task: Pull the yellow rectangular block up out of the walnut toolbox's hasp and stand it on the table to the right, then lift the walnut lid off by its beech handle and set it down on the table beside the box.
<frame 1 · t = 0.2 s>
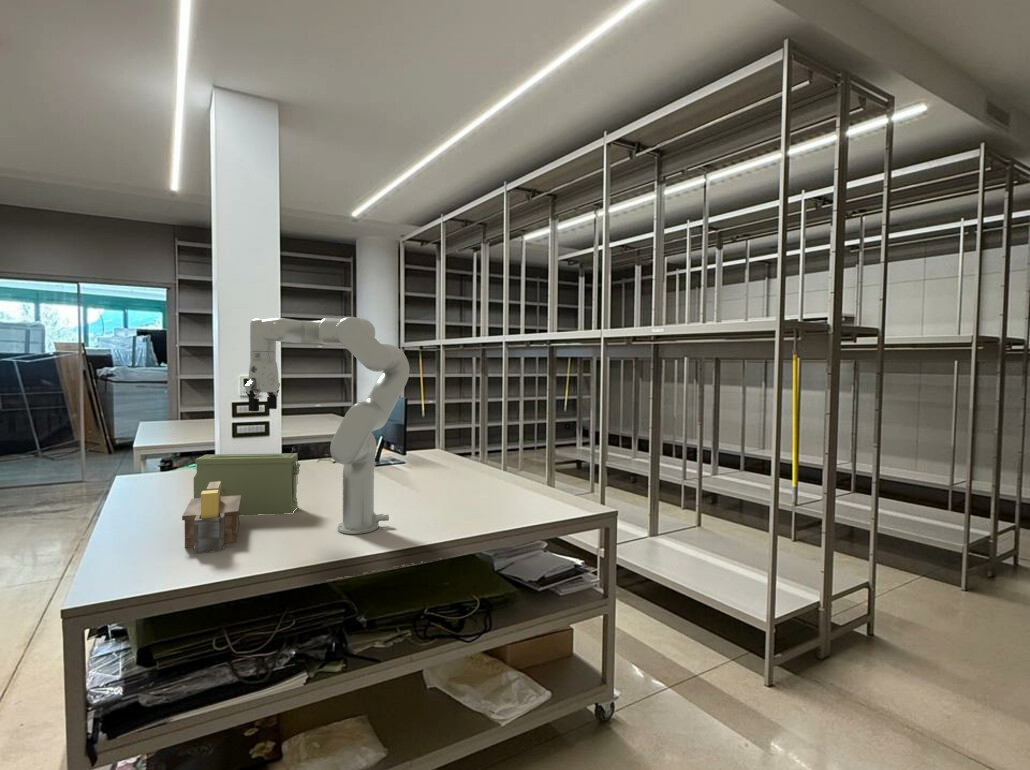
hand: (263, 410, 175), 37 cm above the table, tool pointing down, fingers open, 9 cm apart
yellow rectangular block: (210, 548, 152), resting in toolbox
ammunition box: (249, 512, 190), on the table
lid: (214, 511, 164), point 7 cm above the table, touching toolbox
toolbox: (214, 534, 164), on the table
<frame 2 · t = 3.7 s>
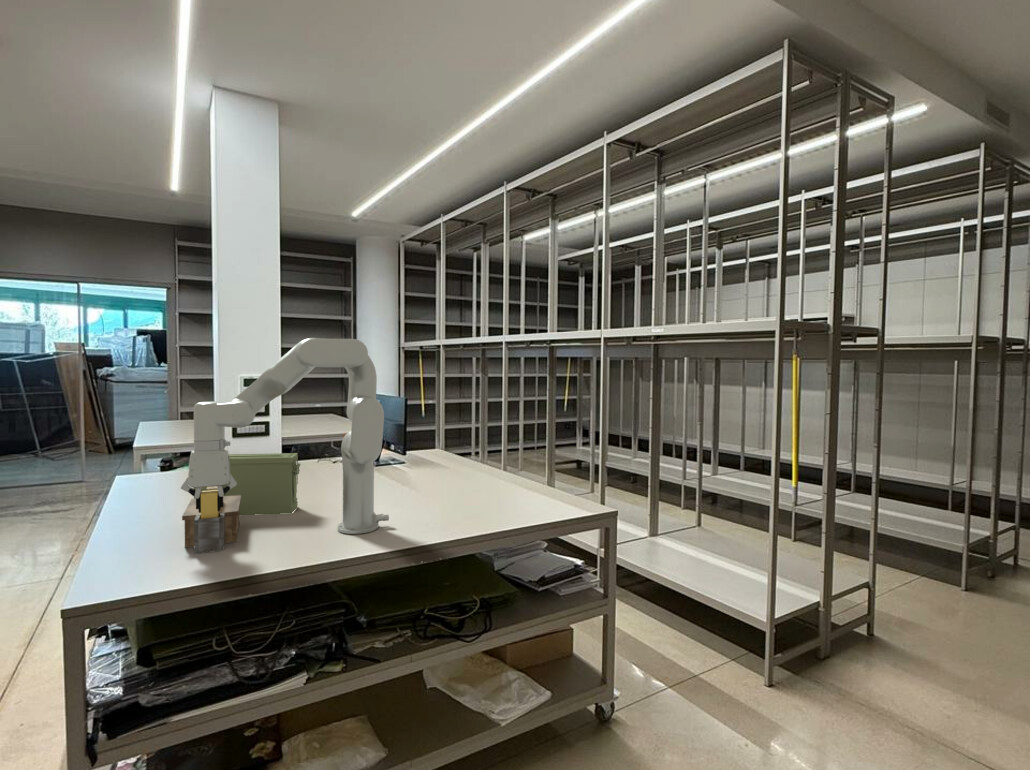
hand: (209, 510, 152), 11 cm above the table, tool pointing down, fingers closed on yellow rectangular block, 3 cm apart
yellow rectangular block: (210, 548, 152), resting in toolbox, touching gripper
everything else where it was.
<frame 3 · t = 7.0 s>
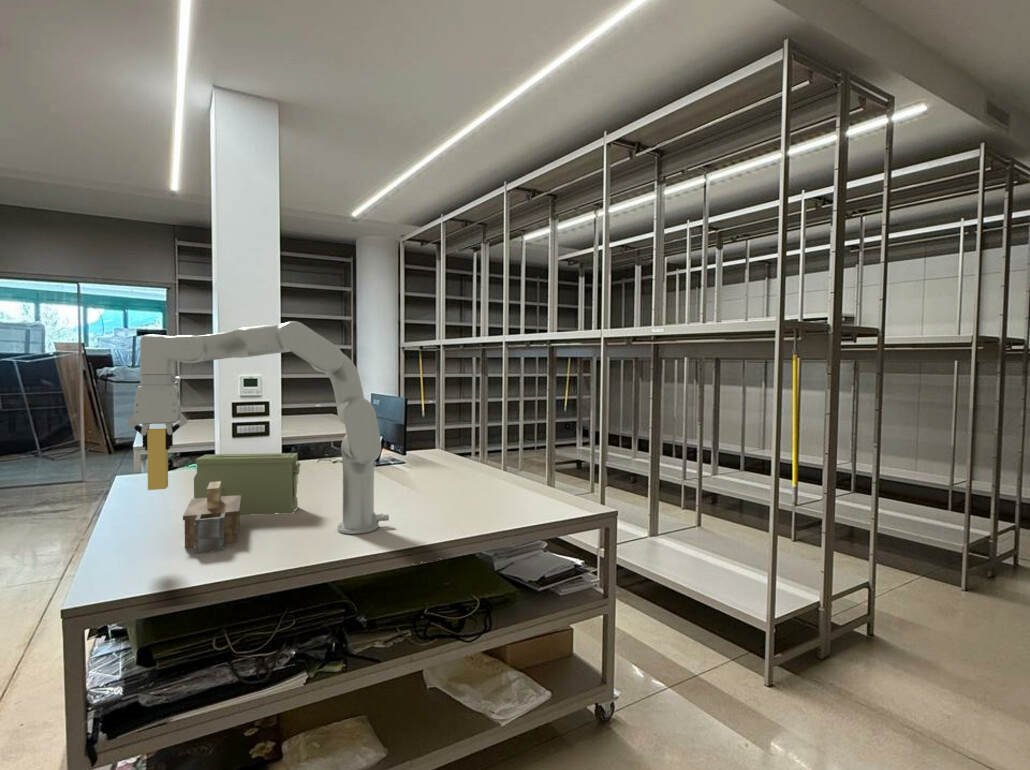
hand: (157, 448, 145), 29 cm above the table, tool pointing down, fingers closed on yellow rectangular block, 3 cm apart
yellow rectangular block: (158, 488, 145), point 18 cm above the table, touching gripper
everything else where it was.
when the fingers open (12 cm above the table, at t = 10.3 s): yellow rectangular block drops 2 cm, on the table.
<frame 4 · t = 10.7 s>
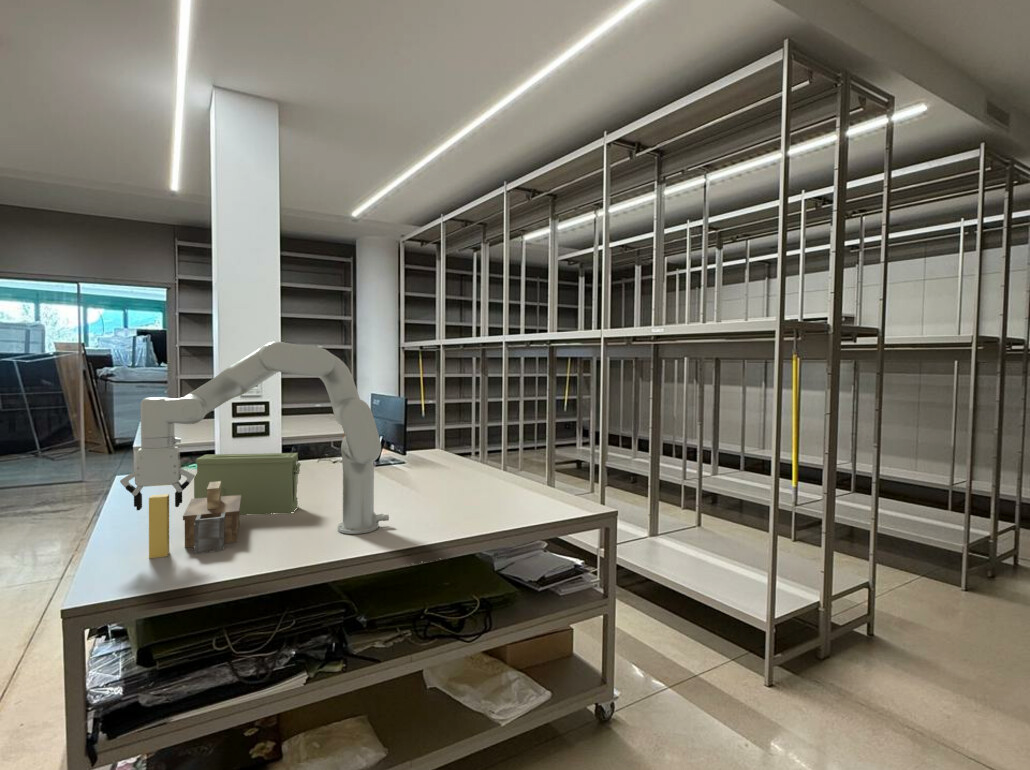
hand: (158, 507, 146), 13 cm above the table, tool pointing down, fingers open, 8 cm apart
yellow rectangular block: (159, 555, 146), on the table
everything else where it was.
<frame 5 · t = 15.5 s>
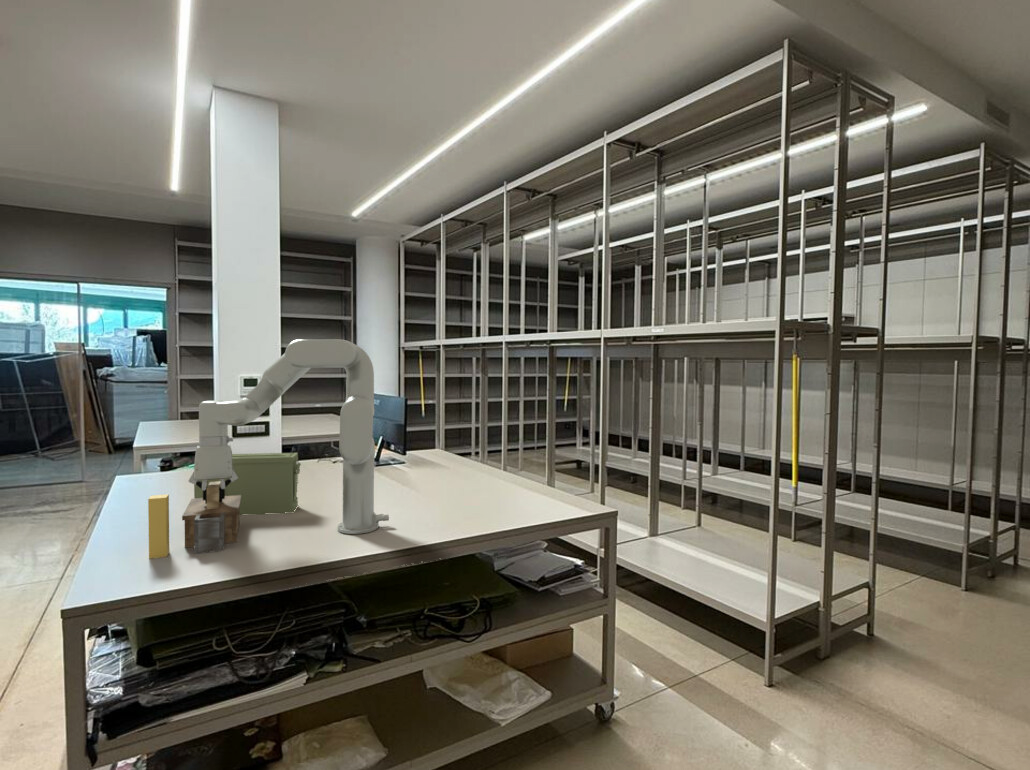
hand: (214, 501, 164), 10 cm above the table, tool pointing down, fingers closed on lid, 3 cm apart
lid: (214, 511, 164), point 7 cm above the table, touching gripper, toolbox
everything else where it was.
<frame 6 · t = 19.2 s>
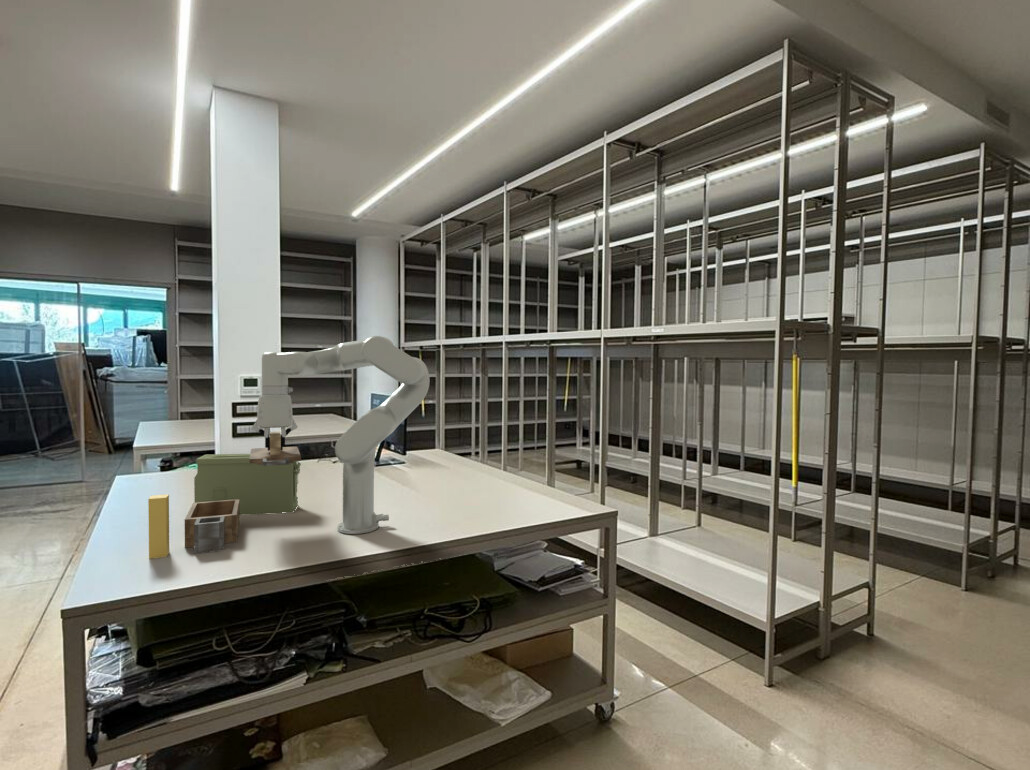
hand: (275, 449, 170), 25 cm above the table, tool pointing down, fingers closed on lid, 3 cm apart
lid: (275, 459, 170), point 22 cm above the table, touching gripper
everything else where it was.
when the fingers open (5 cm above the table, at t = 23.1 s): lid drops 2 cm, on the table.
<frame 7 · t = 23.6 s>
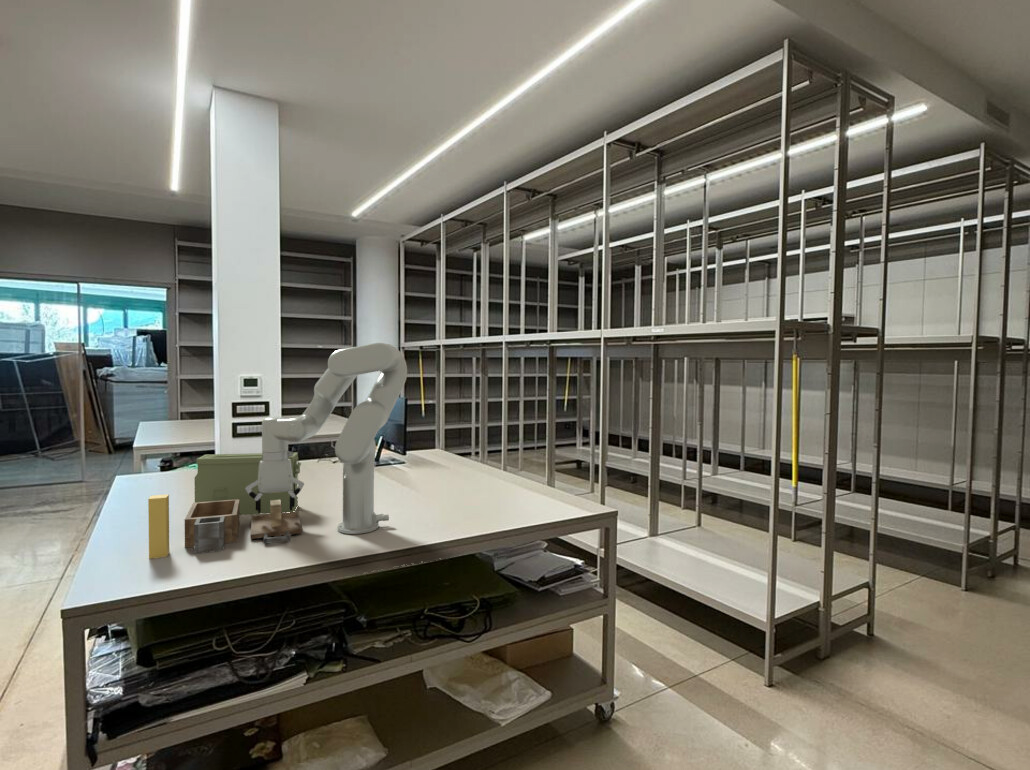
hand: (275, 510, 171), 6 cm above the table, tool pointing down, fingers open, 8 cm apart
lid: (275, 529, 171), on the table
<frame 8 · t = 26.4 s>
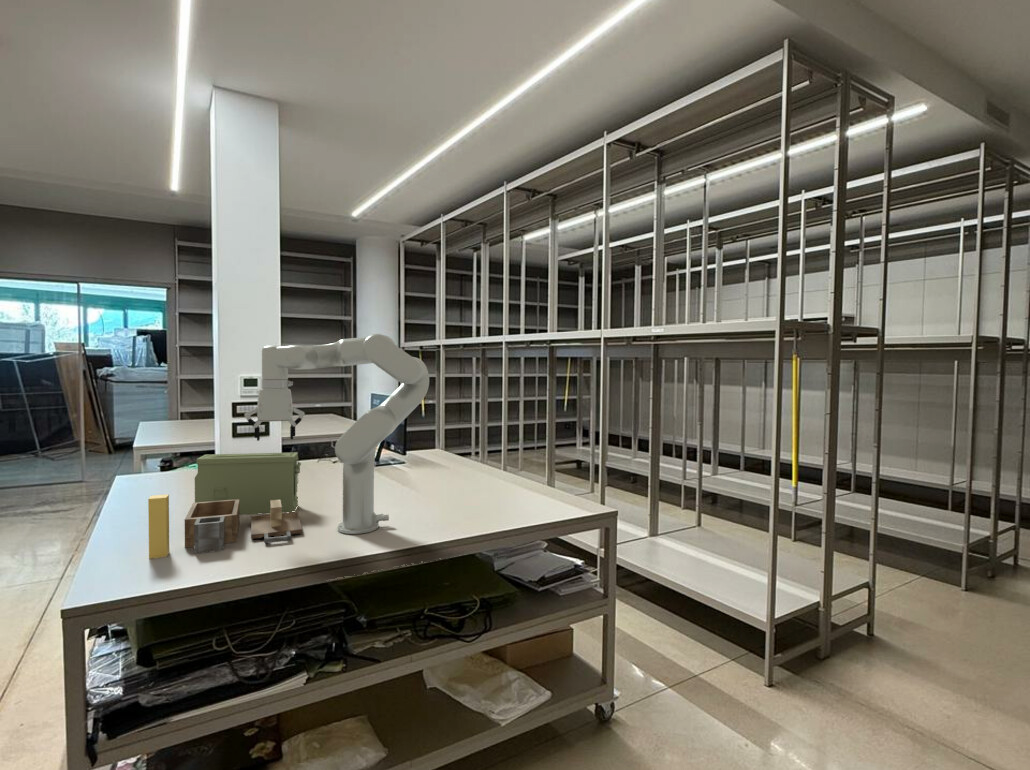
hand: (275, 439, 170), 28 cm above the table, tool pointing down, fingers open, 9 cm apart
at the end: yellow rectangular block inside the target area (0.2 cm from its centre), on the table; lid inside the target area (0.1 cm from its centre), on the table; the gripper is holding nothing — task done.
